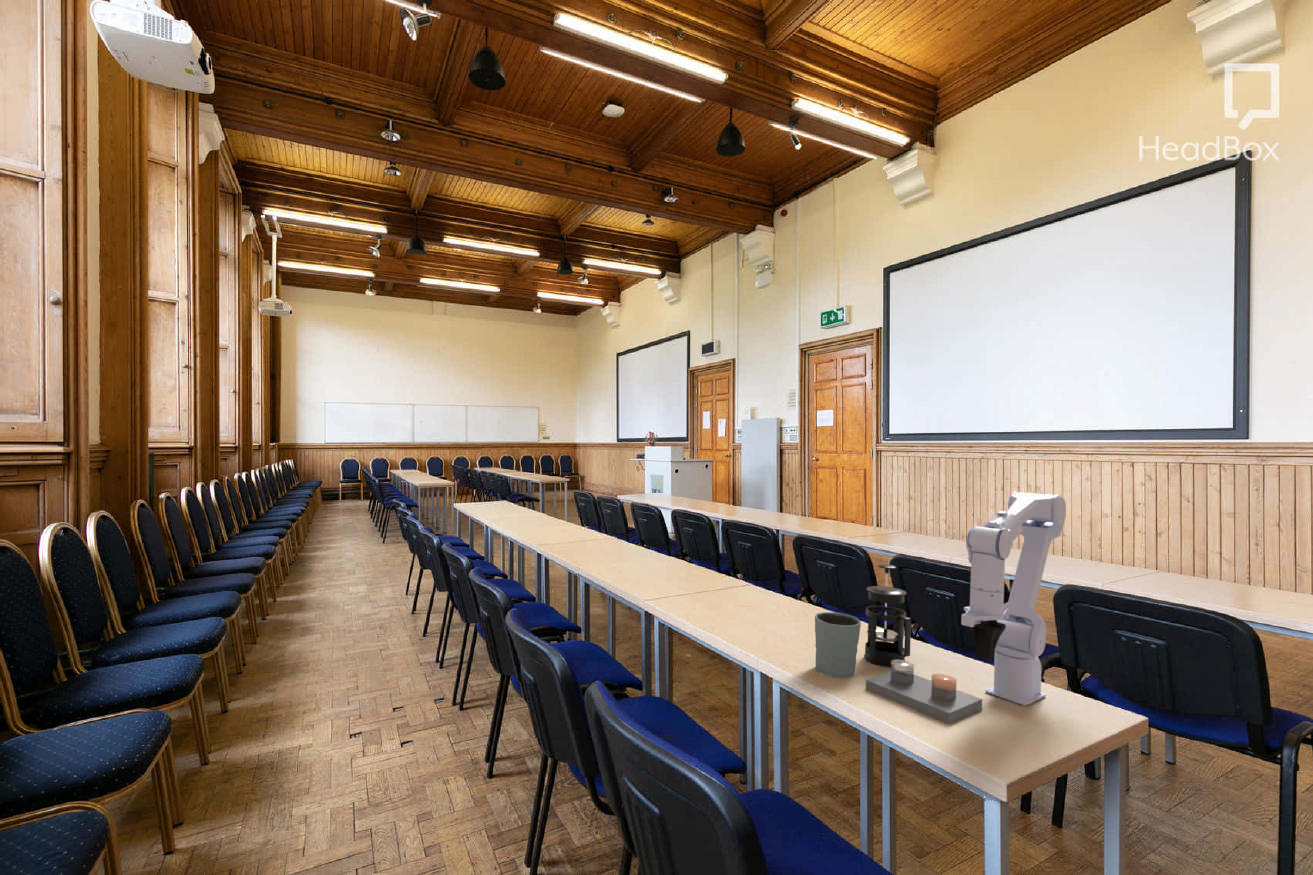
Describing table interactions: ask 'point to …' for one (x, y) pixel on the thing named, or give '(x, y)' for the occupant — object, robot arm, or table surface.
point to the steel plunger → (902, 667)
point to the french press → (883, 650)
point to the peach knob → (944, 682)
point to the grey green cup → (836, 643)
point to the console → (924, 696)
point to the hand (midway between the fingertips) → (984, 659)
